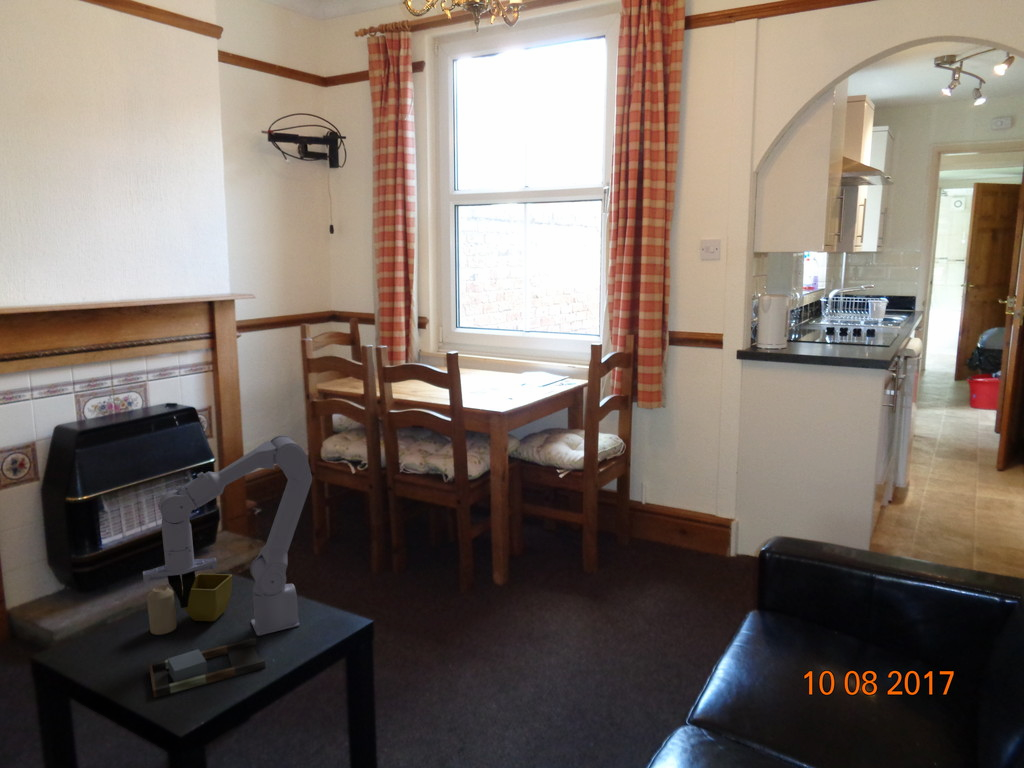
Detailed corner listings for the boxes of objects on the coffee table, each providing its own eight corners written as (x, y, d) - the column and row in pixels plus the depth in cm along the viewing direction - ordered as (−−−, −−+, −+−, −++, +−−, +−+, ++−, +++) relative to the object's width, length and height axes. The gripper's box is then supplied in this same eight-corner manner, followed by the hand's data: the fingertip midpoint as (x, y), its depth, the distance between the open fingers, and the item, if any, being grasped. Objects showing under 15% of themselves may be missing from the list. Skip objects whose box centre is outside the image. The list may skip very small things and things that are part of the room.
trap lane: (255, 644, 163) (254, 637, 163) (265, 667, 153) (264, 661, 153) (149, 671, 153) (149, 664, 153) (153, 697, 143) (153, 690, 143)
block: (200, 664, 156) (198, 649, 155) (207, 677, 151) (206, 661, 150) (169, 674, 152) (167, 658, 151) (176, 687, 147) (174, 671, 147)
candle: (166, 636, 167) (162, 594, 165) (145, 633, 168) (140, 592, 166) (181, 624, 172) (178, 584, 171) (161, 622, 173) (157, 582, 172)
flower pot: (201, 607, 181) (198, 572, 179) (235, 608, 180) (232, 573, 178) (182, 625, 172) (178, 588, 170) (217, 626, 171) (214, 590, 170)
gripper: (211, 534, 166) (216, 591, 168) (139, 547, 159) (146, 606, 161) (216, 544, 160) (221, 603, 162) (141, 558, 153) (148, 619, 155)
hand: (184, 605), depth 161 cm, fingers closed
